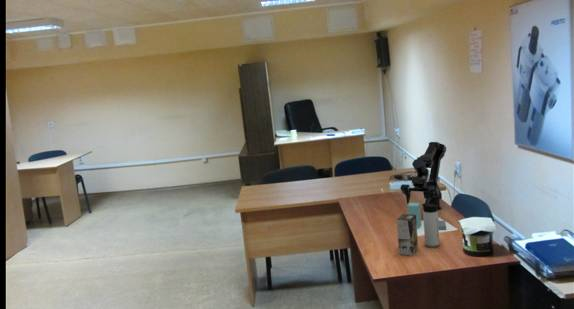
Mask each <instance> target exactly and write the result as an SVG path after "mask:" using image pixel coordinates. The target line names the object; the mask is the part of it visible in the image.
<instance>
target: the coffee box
mask: <svg viewBox="0 0 574 309" xmlns="http://www.w3.org/2000/svg"><path fill="white" fill-rule="evenodd" d="M396 224H397V225H396V226H397V227H396V228H397V229H396V230H397V242H398V243H397V244H398V254H399V255H404V256H405V255H406V256H414V254H415V252H417V251H418V249H419V242H418V240H419V239H418V236H417V221H416V215H414V214H408V213H402V214H401V215H400V216H399V217H398V218H397V219H396Z"/></svg>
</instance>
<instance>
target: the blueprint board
mask: <svg viewBox="0 0 574 309" xmlns="http://www.w3.org/2000/svg"><path fill="white" fill-rule="evenodd" d="M438 221H445V224H446V230H439V234H440V233H446V232H453V231H458V230H459V229H458V228H456V227H455V226H453V225H452V224H450V223H449V222H447V221H446V220H444V219H442V218H441V217H438ZM422 236H423V237H424V236H425V234H424V219H421V227H420V228H419V229H417V237H422Z"/></svg>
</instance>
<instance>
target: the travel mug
mask: <svg viewBox="0 0 574 309" xmlns="http://www.w3.org/2000/svg"><path fill="white" fill-rule="evenodd" d="M421 205H422V212H423V214H422V215H423V220H424V234H425V235H424V245H425V247H427V248H430V249H433V248H435V249H436V248H438V247H439V245H440V233H439V227H438V218H439V213H438V210H439V209H437V205H435V204H433V203H425V202H423V203H422V204H421Z"/></svg>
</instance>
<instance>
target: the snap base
mask: <svg viewBox="0 0 574 309" xmlns="http://www.w3.org/2000/svg"><path fill="white" fill-rule="evenodd" d="M445 221H446V220H444V221H438V227H439V230H446V224H445Z"/></svg>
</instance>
